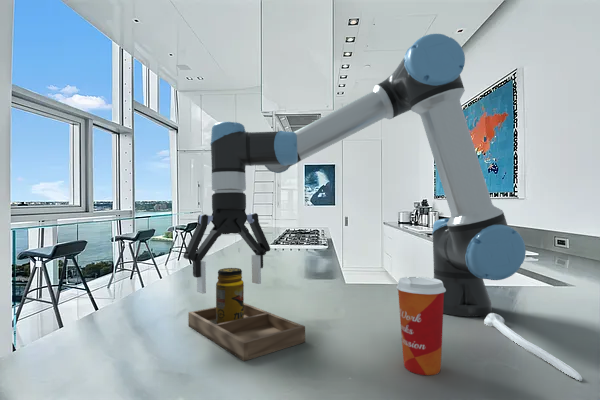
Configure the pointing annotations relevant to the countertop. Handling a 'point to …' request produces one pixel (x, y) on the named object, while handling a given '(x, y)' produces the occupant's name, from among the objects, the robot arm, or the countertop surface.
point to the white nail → (529, 345)
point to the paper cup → (421, 323)
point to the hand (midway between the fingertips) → (230, 287)
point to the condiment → (229, 295)
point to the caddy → (248, 332)
